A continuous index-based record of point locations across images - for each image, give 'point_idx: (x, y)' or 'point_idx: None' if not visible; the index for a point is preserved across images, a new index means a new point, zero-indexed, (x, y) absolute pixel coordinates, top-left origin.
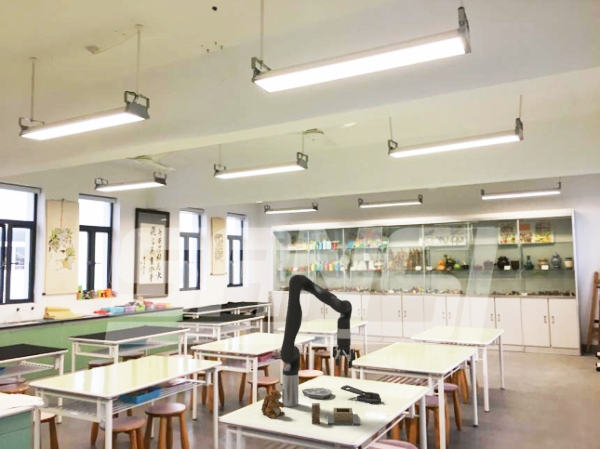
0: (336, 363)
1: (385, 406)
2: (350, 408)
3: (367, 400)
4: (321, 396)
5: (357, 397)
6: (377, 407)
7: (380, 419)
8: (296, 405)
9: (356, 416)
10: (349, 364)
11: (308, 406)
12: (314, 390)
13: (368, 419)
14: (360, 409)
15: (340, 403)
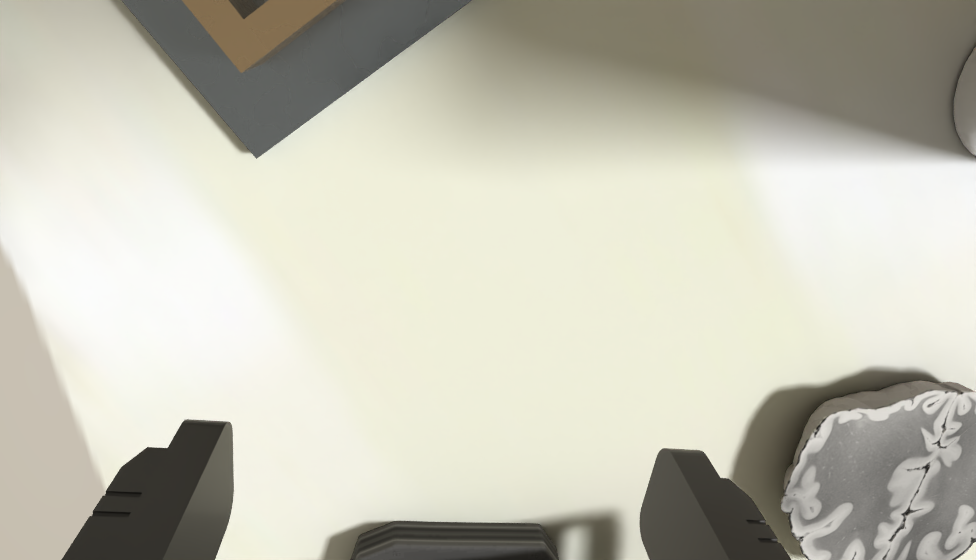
0: (711, 490)
1: (259, 534)
2: (234, 39)
3: (430, 539)
4: (833, 407)
5: (537, 546)
6: (292, 478)
7: (12, 192)
8: (961, 77)
9: (206, 72)
10: (141, 508)
11: (841, 144)
12: (953, 492)
13: (99, 119)
14: (373, 351)
15: (620, 395)
